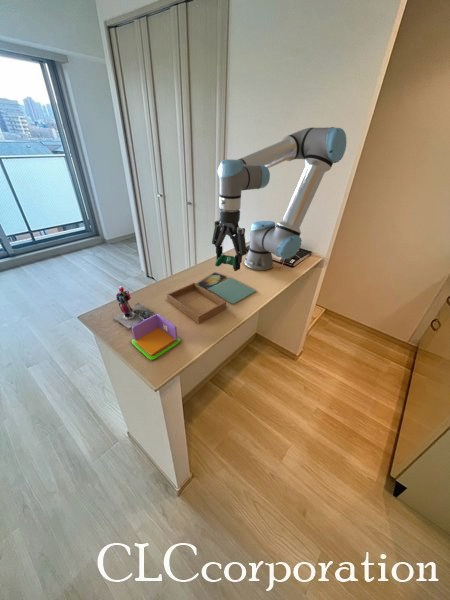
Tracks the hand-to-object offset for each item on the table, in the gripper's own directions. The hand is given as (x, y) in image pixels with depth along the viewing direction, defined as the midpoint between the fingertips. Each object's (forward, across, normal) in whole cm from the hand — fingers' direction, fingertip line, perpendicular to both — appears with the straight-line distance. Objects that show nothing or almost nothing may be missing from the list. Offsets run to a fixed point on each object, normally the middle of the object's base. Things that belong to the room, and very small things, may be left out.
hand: (227, 265), depth 98 cm
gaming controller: (0, 0, 0) cm, 1 cm away
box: (+13, -2, -16) cm, 21 cm away
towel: (+13, 0, +3) cm, 13 cm away
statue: (+13, -11, -38) cm, 42 cm away
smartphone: (+14, -12, +2) cm, 18 cm away
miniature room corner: (+13, +6, -39) cm, 42 cm away
